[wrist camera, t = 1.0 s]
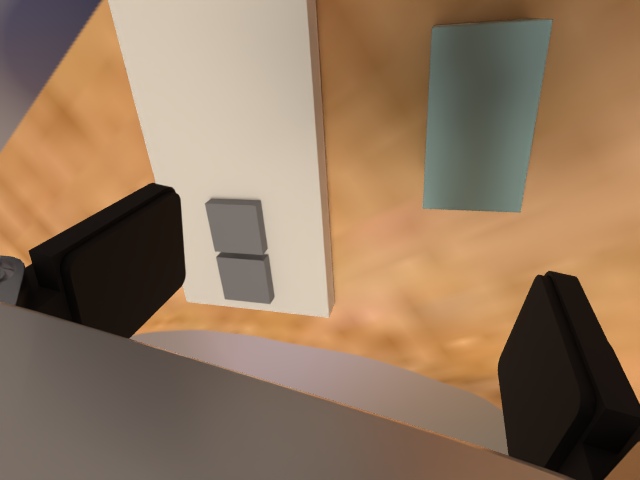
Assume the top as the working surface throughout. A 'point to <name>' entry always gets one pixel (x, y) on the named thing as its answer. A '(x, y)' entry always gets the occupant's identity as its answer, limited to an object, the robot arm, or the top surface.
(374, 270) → the top surface
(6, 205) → the top surface
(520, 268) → the top surface
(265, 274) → the chip
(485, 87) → the block
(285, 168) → the board
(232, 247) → the chip
